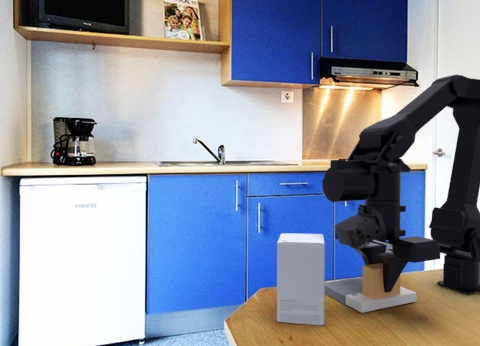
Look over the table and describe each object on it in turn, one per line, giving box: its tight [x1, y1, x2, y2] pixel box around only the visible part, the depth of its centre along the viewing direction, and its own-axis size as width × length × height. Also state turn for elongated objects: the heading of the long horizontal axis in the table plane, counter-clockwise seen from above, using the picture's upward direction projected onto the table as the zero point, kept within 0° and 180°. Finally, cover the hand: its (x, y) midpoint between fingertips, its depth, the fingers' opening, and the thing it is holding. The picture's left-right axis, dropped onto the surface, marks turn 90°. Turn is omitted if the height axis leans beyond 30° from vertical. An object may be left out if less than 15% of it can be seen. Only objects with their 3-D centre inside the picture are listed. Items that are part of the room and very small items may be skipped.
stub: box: [345, 263, 418, 314], centre depth 65 cm, size 12×4×6 cm, turn 113°
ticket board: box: [325, 276, 363, 305], centre depth 70 cm, size 12×7×2 cm, turn 113°
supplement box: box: [276, 232, 326, 326], centre depth 60 cm, size 7×7×13 cm
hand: (381, 289), depth 65 cm, fingers closed on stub, 2 cm apart
